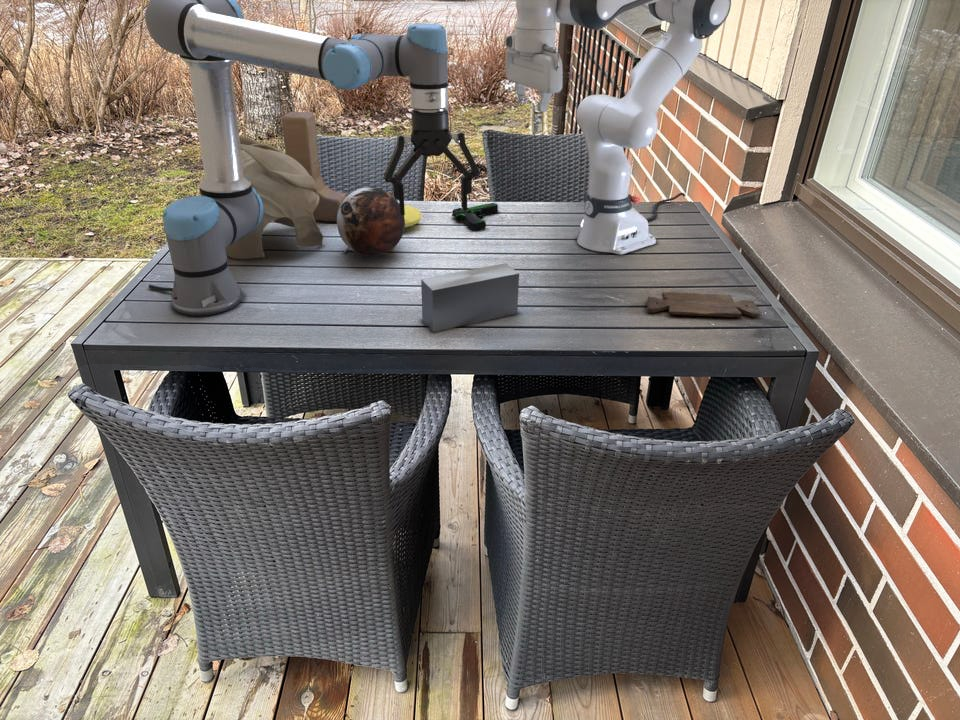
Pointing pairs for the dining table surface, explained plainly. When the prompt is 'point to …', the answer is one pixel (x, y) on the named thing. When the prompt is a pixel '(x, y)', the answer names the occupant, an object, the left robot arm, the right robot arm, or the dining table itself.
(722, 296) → the dark wooden board
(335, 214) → the decorative block
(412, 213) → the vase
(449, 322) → the box
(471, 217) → the handgun
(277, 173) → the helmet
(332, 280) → the dining table surface
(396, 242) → the marbled brown ball
